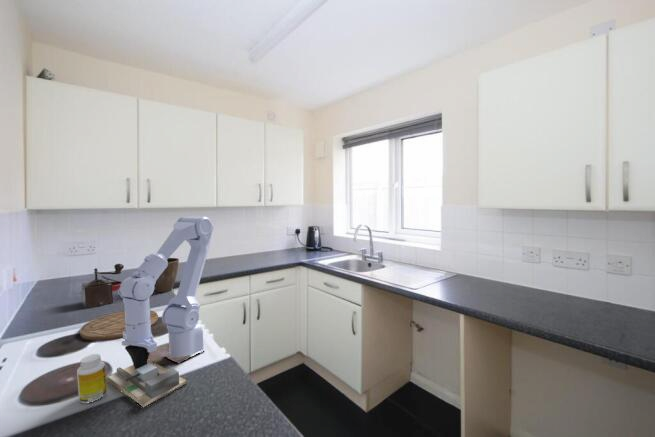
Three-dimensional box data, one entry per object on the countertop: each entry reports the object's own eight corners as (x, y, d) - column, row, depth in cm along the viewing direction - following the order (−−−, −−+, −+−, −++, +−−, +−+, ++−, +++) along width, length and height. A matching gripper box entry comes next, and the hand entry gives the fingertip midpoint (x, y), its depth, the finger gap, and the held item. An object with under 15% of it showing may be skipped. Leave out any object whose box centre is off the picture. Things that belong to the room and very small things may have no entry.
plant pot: (145, 290, 164) (143, 260, 162) (175, 284, 174) (173, 256, 172) (152, 297, 153) (150, 265, 151) (183, 290, 163) (182, 260, 161)
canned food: (103, 297, 167) (102, 279, 170) (125, 292, 171) (124, 275, 174) (97, 293, 157) (96, 274, 161) (120, 288, 162) (118, 270, 165)
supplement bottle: (109, 396, 77) (106, 357, 77) (81, 408, 73) (78, 366, 72) (104, 387, 81) (101, 349, 80) (77, 397, 77) (74, 358, 76)
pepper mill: (86, 309, 137) (83, 269, 135) (82, 303, 144) (79, 265, 143) (126, 300, 148) (124, 263, 146) (121, 295, 155) (118, 260, 154)
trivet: (172, 317, 128) (172, 312, 128) (116, 345, 104) (116, 340, 104) (125, 311, 135) (124, 307, 135) (62, 337, 111) (62, 331, 111)
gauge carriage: (149, 373, 85) (149, 363, 85) (157, 377, 83) (157, 367, 83) (122, 386, 80) (122, 375, 79) (130, 391, 77) (129, 380, 77)
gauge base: (148, 362, 93) (147, 348, 93) (186, 384, 82) (185, 368, 82) (106, 380, 84) (105, 365, 84) (143, 408, 73) (142, 390, 73)
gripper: (109, 320, 84) (112, 368, 85) (135, 333, 76) (138, 386, 77) (136, 311, 90) (139, 356, 91) (163, 323, 82) (166, 372, 83)
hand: (140, 369), depth 84 cm, fingers closed
